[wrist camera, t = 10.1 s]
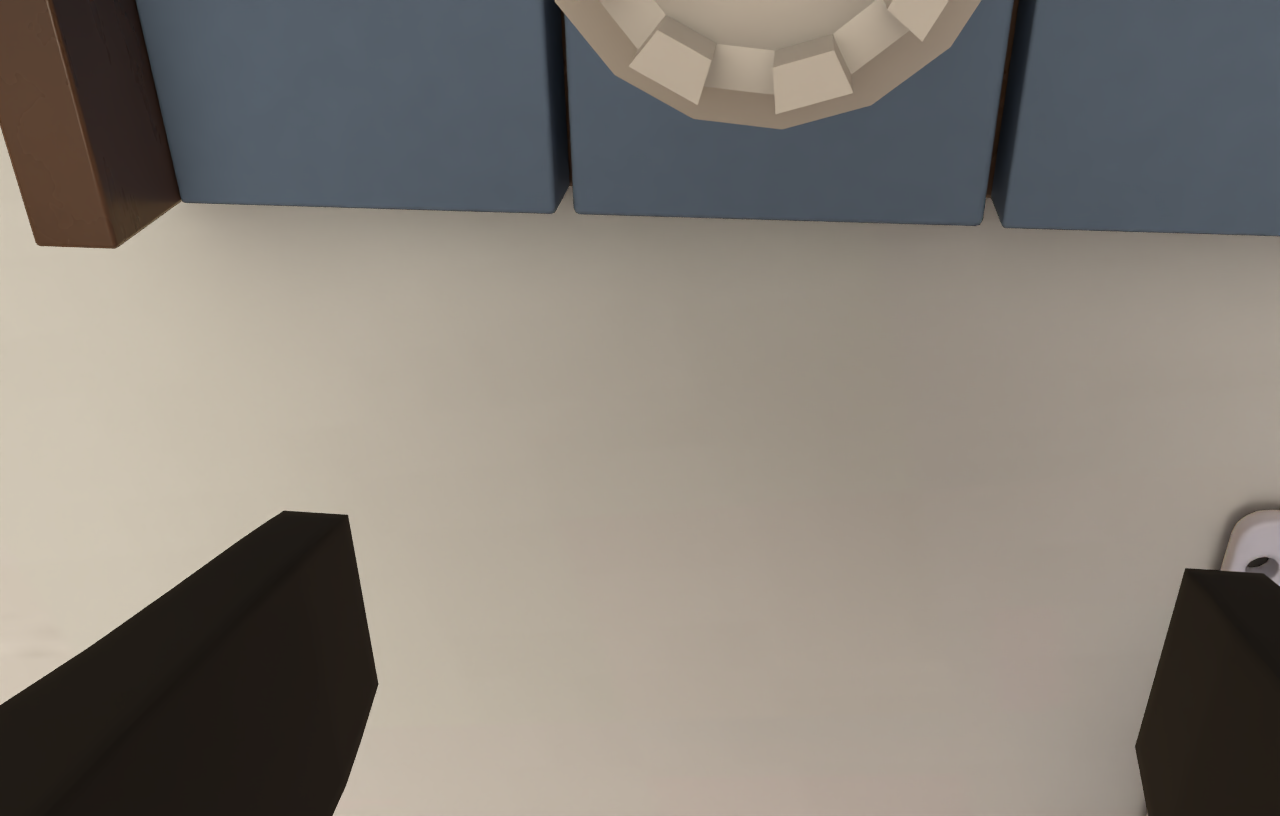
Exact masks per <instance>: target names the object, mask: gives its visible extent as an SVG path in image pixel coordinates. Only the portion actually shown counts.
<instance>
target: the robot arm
mask: <svg viewBox="0 0 1280 816" xmlns="http://www.w3.org/2000/svg"><path fill="white" fill-rule="evenodd" d="M1262 557H1268V558H1269V560H1268V561H1267V562H1266V563H1264V564H1263V565H1261V566H1259V567H1251V568H1250V567H1247V565H1248V564H1249V563H1250V562H1251V561H1253V560H1255V559H1257V558H1262ZM377 687H378V680H377V674H376V669H375V663H374V657H373V652H372V646H371V641H370V635H369V630H368V624H367V618H366V613H365V607H364V602H363V596H362V590H361V585H360V579H359V574H358V568H357V563H356V557H355V551H354V546H353V540H352V535H351V529H350V524H349V518H348V515H341V514H326V513H310V512H294V511H283V512H281V513H280V514H278V515H277V516H275V517H273V518H272V519H270V520H269V521H267V522H266V523H264V524H263V525H261V526H260V527H258V528H257V529H255V530H254V531H252V532H251V533H249V534H248V535H247V536H245V537H244V538H242V539H241V540H239V541H238V542H237V543H235V544H234V545H232V546H231V547H230V548H228V549H227V550H225V551H224V552H223V553H221V554H220V555H218V556H217V557H216V558H214V559H213V560H211V561H210V562H209V563H207V564H206V565H204V566H203V567H202V568H200V569H199V570H197V571H196V572H195V573H193V574H192V575H191V576H189V577H188V578H186V579H185V580H184V581H182V582H181V583H179V584H178V585H177V586H175V587H174V588H173V589H171V590H170V591H168V592H167V593H165V594H164V595H163V596H161V597H160V598H158V599H157V600H156V601H154V602H153V603H151V604H150V605H148V606H147V607H146V608H144V609H143V610H141V611H140V612H139V613H137V614H136V615H134V616H133V617H131V618H130V619H129V620H127V621H126V622H124V623H123V624H122V625H120V626H119V627H117V628H116V629H114V630H113V631H112V632H110V633H109V634H107V635H106V636H105V637H103V638H102V639H100V640H99V641H97V642H96V643H95V644H93V645H92V646H90V647H89V648H87V649H86V650H84V651H83V652H81V653H80V654H78V655H77V656H75V657H74V658H72V659H71V660H69V661H67V662H66V663H64V664H63V665H61V666H60V667H58V668H57V669H55V670H54V671H52V672H51V673H49V674H47V675H46V676H44V677H43V678H41V679H40V680H38V681H37V682H35V683H34V684H32V685H31V686H29V687H27V688H26V689H24V690H23V691H21V692H20V693H18V694H17V695H15V696H14V697H12V698H11V699H9V700H8V701H6V702H4V703H3V704H1V705H0V816H332V815H333V813H334V811H335V809H336V807H337V804H338V802H339V800H340V798H341V795H342V793H343V791H344V789H345V787H346V784H347V781H348V778H349V775H350V772H351V769H352V766H353V763H354V760H355V757H356V754H357V751H358V748H359V745H360V742H361V739H362V736H363V733H364V729H365V726H366V723H367V720H368V716H369V713H370V710H371V707H372V703H373V700H374V697H375V693H376V690H377ZM1135 748H1136V753H1137V759H1138V764H1139V769H1140V775H1141V780H1142V785H1143V791H1144V796H1145V801H1146V807H1147V814H1146V816H1280V510H1260V511H1256V512H1253V513H1251V514H1248V515H1246V516H1245V517H1243V518H1242V519H1241V520H1240V521H1238V522H1237V524H1236V525H1235V527H1234V529H1233V531H1232V533H1231V536H1230V539H1229V543H1228V546H1227V549H1226V553H1225V556H1224V559H1223V563H1222V566H1221V569H1220V571H1219V570H1204V569H1188V568H1185V572H1184V575H1183V579H1182V582H1181V586H1180V589H1179V593H1178V596H1177V600H1176V603H1175V607H1174V611H1173V614H1172V618H1171V621H1170V625H1169V628H1168V632H1167V635H1166V639H1165V642H1164V646H1163V650H1162V653H1161V657H1160V660H1159V664H1158V667H1157V671H1156V674H1155V678H1154V681H1153V685H1152V689H1151V692H1150V696H1149V699H1148V703H1147V706H1146V710H1145V713H1144V717H1143V720H1142V724H1141V728H1140V731H1139V735H1138V738H1137V742H1136V745H1135Z"/></svg>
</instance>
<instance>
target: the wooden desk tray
mask: <svg viewBox="0 0 1280 816" xmlns="http://www.w3.org/2000/svg"><path fill="white" fill-rule="evenodd" d="M0 126H1V130H2V133H3V136H4V139H5V143H6V146H7V149H8V153H9V156H10V159H11V163H12V166H13V169H14V172H15V176H16V179H17V182H18V186H19V189H20V192H21V195H22V199H23V202H24V205H25V209H26V212H27V215H28V219H29V222H30V225H31V228H32V232H33V235H34V238H35V242H36V243H37V245H39V246H56V247H84V248H112V249H115V248H117V247H119V246H120V245H122V244H123V243H124V242H126V241H127V240H129V239H130V238H131V237H133V236H134V235H135V234H137V233H138V232H140V231H141V230H142V229H144V228H145V227H146V226H148V225H149V224H151V223H152V222H153V221H155V220H156V219H158V218H159V217H160V216H162V215H163V214H164V213H166V212H167V211H169V210H170V209H171V208H173V207H174V206H175V205H177V204H178V203H180V202H181V201H183V202H185V203H207V204H240V205H274V206H307V207H340V208H374V209H407V210H441V211H474V212H507V213H541V214H552V213H555V211H556V209H557V208H558V206H559V204H560V202H561V200H562V199H563V197H564V195H565V193H566V191H567V189H568V187H569V186H573V204H574V209H575V211H576V213H578V214H589V215H623V216H656V217H690V218H723V219H757V220H790V221H824V222H857V223H891V224H924V225H958V226H977V225H980V223H981V222H982V220H983V215H984V208H985V200H986V197H988V198H991V199H992V201H993V204H994V207H995V209H996V212H997V214H998V217H999V219H1000V222H1001V224H1002V227H1004V228H1023V229H1057V230H1090V231H1123V232H1157V233H1190V234H1223V235H1257V236H1280V0H981V2H980V3H979V5H978V6H977V8H976V9H975V11H974V12H973V14H972V15H971V17H970V18H969V20H968V21H967V23H966V24H965V26H964V27H963V29H962V30H961V32H960V34H959V35H958V37H957V38H956V40H955V41H954V43H953V44H952V46H951V47H950V48H949V49H947V50H946V51H945V52H943V53H942V54H940V55H939V56H938V57H936V58H935V59H934V60H932V61H931V62H930V63H928V64H927V65H925V66H924V67H923V68H921V69H920V70H919V71H917V72H916V73H915V74H913V75H912V76H910V77H909V78H908V79H906V80H905V81H904V82H902V83H901V84H900V85H898V86H897V87H895V88H894V89H893V90H891V91H890V92H889V93H887V94H886V95H885V96H883V97H882V98H881V99H879V100H878V101H876V102H875V103H874V104H872V105H871V106H867V107H863V108H860V109H856V110H852V111H848V112H845V113H841V114H837V115H834V116H830V117H826V118H823V119H819V120H815V121H812V122H808V123H804V124H800V125H797V126H793V127H789V128H786V129H774V128H765V127H757V126H749V125H740V124H732V123H724V122H715V121H707V120H699V119H693V118H691V117H689V116H687V115H685V114H684V113H682V112H680V111H678V110H676V109H675V108H673V107H671V106H669V105H668V104H666V103H664V102H662V101H660V100H659V99H657V98H655V97H653V96H651V95H650V94H648V93H646V92H644V91H642V90H641V89H639V88H637V87H635V86H633V85H632V84H630V83H628V82H626V81H624V80H623V79H621V78H619V77H617V76H615V75H614V74H613V72H612V71H611V70H610V69H609V68H608V66H607V65H606V64H605V63H604V61H603V60H602V59H601V58H600V57H599V55H598V54H597V53H596V52H595V50H594V49H593V48H592V47H591V45H590V44H589V43H588V42H587V41H586V39H585V38H584V37H583V36H582V34H581V33H580V32H579V31H578V30H577V28H576V27H575V26H574V25H573V23H572V22H571V21H570V20H569V19H568V17H567V16H566V15H565V14H564V12H563V11H562V10H561V9H560V7H559V6H558V5H557V4H556V3H555V1H554V0H0Z"/></svg>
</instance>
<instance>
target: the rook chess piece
mask: <svg viewBox="0 0 1280 816" xmlns="http://www.w3.org/2000/svg"><path fill="white" fill-rule="evenodd" d="M554 1H555V3H556V4H557V5H558V6H559V7H560V9H561V10H562V11H563V12H564V14H565V15H566V16H567V17H568V19H569V20H570V21H571V22H572V23H573V25H574V26H575V27H576V28H577V30H578V31H579V32H580V33H581V34H582V36H583V37H584V38H585V39H586V41H587V42H588V43H589V44H590V45H591V47H592V48H593V49H594V50H595V52H596V53H597V54H598V55H599V57H600V58H601V59H602V60H603V61H604V63H605V64H606V65H607V66H608V68H609V69H610V70H611V71H612V72H613V74H614V75H615V76H617V77H619V78H621V79H623V80H624V81H626V82H628V83H630V84H632V85H633V86H635V87H637V88H639V89H641V90H642V91H644V92H646V93H648V94H650V95H651V96H653V97H655V98H657V99H659V100H660V101H662V102H664V103H666V104H668V105H669V106H671V107H673V108H675V109H676V110H678V111H680V112H682V113H684V114H685V115H687V116H689V117H691V118H693V119H699V120H707V121H715V122H724V123H732V124H740V125H749V126H757V127H765V128H774V129H786V128H789V127H793V126H797V125H800V124H804V123H808V122H812V121H815V120H819V119H823V118H826V117H830V116H834V115H837V114H841V113H845V112H848V111H852V110H856V109H860V108H863V107H867V106H871V105H872V104H874V103H875V102H876V101H878V100H879V99H881V98H882V97H883V96H885V95H886V94H887V93H889V92H890V91H891V90H893V89H894V88H895V87H897V86H898V85H900V84H901V83H902V82H904V81H905V80H906V79H908V78H909V77H910V76H912V75H913V74H915V73H916V72H917V71H919V70H920V69H921V68H923V67H924V66H925V65H927V64H928V63H930V62H931V61H932V60H934V59H935V58H936V57H938V56H939V55H940V54H942V53H943V52H945V51H946V50H947V49H949V48H950V47H951V46H952V44H953V43H954V41H955V40H956V38H957V37H958V35H959V34H960V32H961V30H962V29H963V27H964V26H965V24H966V23H967V21H968V20H969V18H970V17H971V15H972V14H973V12H974V11H975V9H976V8H977V6H978V5H979V3H980V2H981V0H554Z"/></svg>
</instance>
